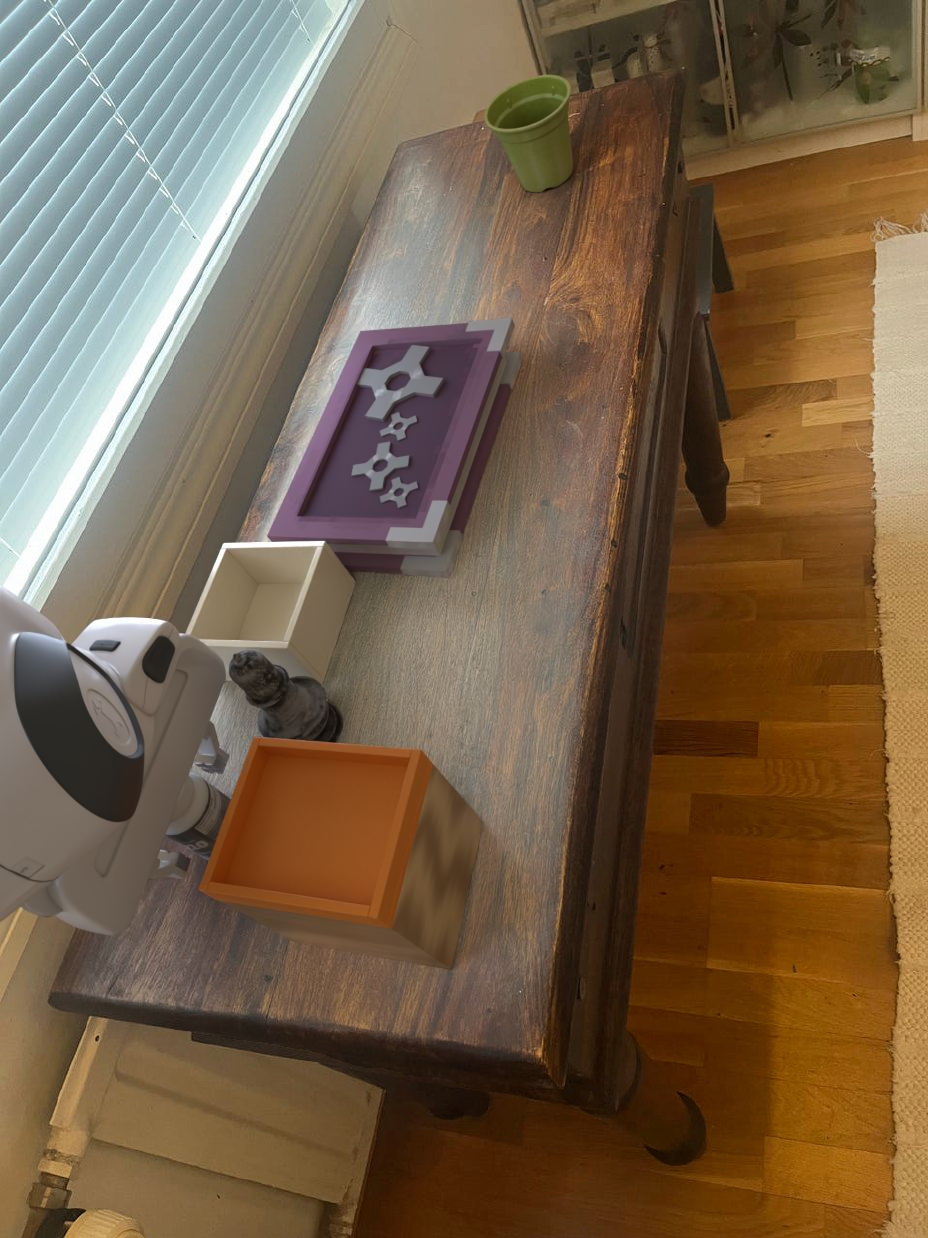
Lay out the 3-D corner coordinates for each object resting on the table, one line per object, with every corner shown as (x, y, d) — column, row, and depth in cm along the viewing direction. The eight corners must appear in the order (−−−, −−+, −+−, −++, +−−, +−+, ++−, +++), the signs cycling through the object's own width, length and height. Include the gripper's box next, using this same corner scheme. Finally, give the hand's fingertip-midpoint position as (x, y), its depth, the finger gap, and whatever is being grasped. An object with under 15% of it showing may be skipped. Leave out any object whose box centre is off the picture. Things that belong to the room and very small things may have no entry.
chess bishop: (317, 775, 71) (237, 704, 62) (265, 746, 74) (181, 674, 65) (359, 712, 73) (287, 633, 64) (307, 686, 76) (231, 608, 67)
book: (453, 577, 77) (432, 542, 73) (292, 569, 84) (265, 536, 80) (526, 358, 89) (512, 317, 85) (380, 366, 96) (360, 329, 92)
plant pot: (605, 155, 103) (588, 77, 96) (554, 209, 100) (533, 134, 94) (541, 144, 108) (520, 71, 101) (491, 196, 106) (467, 124, 99)
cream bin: (322, 686, 76) (286, 648, 71) (220, 680, 80) (180, 645, 75) (356, 582, 81) (325, 540, 76) (258, 582, 85) (223, 542, 80)
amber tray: (392, 928, 52) (377, 918, 50) (216, 900, 57) (197, 890, 55) (433, 763, 57) (421, 749, 55) (268, 750, 61) (253, 736, 60)
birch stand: (451, 970, 60) (392, 928, 52) (293, 942, 64) (216, 900, 57) (483, 821, 65) (433, 763, 57) (334, 805, 69) (268, 750, 61)
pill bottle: (184, 852, 71) (117, 813, 65) (213, 796, 73) (150, 752, 67) (231, 869, 69) (166, 829, 63) (259, 810, 71) (199, 766, 65)
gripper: (43, 909, 52) (183, 966, 63) (178, 600, 61) (278, 696, 72) (-37, 894, 54) (111, 952, 65) (105, 599, 64) (212, 692, 75)
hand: (200, 815), depth 69 cm, fingers open, 7 cm apart
